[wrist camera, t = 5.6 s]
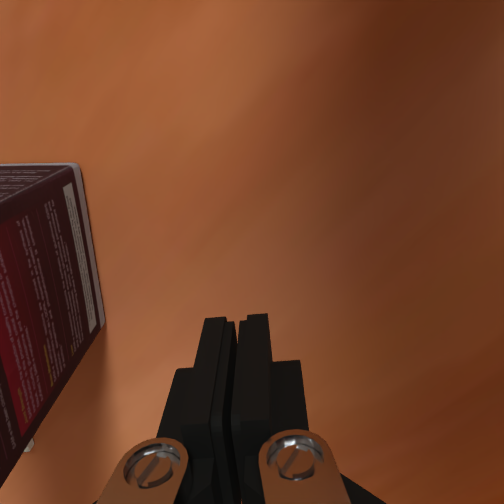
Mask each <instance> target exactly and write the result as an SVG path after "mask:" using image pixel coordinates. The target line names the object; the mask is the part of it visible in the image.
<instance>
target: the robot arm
mask: <svg viewBox="0 0 504 504" xmlns="http://www.w3.org/2000/svg"><path fill="white" fill-rule="evenodd" d="M241 498H242V504H386V503H385V502H383V501H382V500H380V499H379V498H377V497H376V496H374V495H373V494H371V493H370V492H368V491H367V490H365V489H364V488H362V487H361V486H359V485H358V484H356V483H354V482H353V481H351V480H350V479H348V478H347V477H345V476H344V475H342V474H341V473H340V472H339V470H338V467H337V464H336V462H335V459H334V457H333V454H332V451H331V449H330V447H329V446H328V444H327V442H326V441H325V440H323V439H322V438H321V437H320V436H319V435H317V434H314V433H312V432H310V431H309V427H308V419H307V411H306V403H305V395H304V387H303V379H302V371H301V363H300V360H291V361H277V362H273V361H272V351H271V341H270V331H269V321H268V314H267V313H265V314H252V315H247V320H244V321H240V323H239V334H238V344H237V337H236V330H235V323H234V321H231V322H227V319H226V317H214V318H205V321H204V325H203V329H202V333H201V338H200V342H199V346H198V350H197V354H196V359H195V363H194V367H193V368H179V369H177V370H176V372H175V375H174V378H173V382H172V385H171V389H170V392H169V395H168V399H167V402H166V406H165V409H164V412H163V416H162V419H161V423H160V426H159V430H158V433H157V436H156V438H153V439H150V440H146V441H143V442H141V443H140V444H138V445H136V446H134V447H133V448H131V449H130V450H129V451H128V452H127V453H126V454H125V455H124V456H123V457H122V459H121V460H120V461H119V463H118V465H117V467H116V468H115V470H114V472H113V474H112V476H111V478H110V479H109V481H108V483H107V485H106V487H105V489H104V490H103V492H102V494H101V496H100V498H99V499H98V500H97V501H96V502H94V503H93V504H241Z"/></svg>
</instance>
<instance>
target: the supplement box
mask: <svg viewBox="0 0 504 504" xmlns="http://www.w3.org/2000/svg"><path fill="white" fill-rule="evenodd" d="M104 323H105V317H104V310H103V304H102V299H101V293H100V287H99V281H98V275H97V269H96V262H95V256H94V250H93V244H92V238H91V232H90V226H89V220H88V213H87V207H86V201H85V195H84V189H83V183H82V178H81V172H80V167H79V165H78V164H77V163H30V164H0V488H1V487H2V485H3V483H4V482H5V480H6V479H7V477H8V476H9V474H10V472H11V471H12V469H13V468H14V466H15V465H16V463H17V461H18V460H19V458H20V456H21V455H22V453H23V452H24V450H25V449H26V447H27V445H28V444H29V442H30V441H31V439H32V437H33V436H34V434H35V433H36V431H37V429H38V428H39V426H40V424H41V423H42V421H43V419H44V418H45V416H46V415H47V413H48V412H49V410H50V409H51V407H52V405H53V404H54V402H55V401H56V399H57V398H58V396H59V394H60V393H61V391H62V390H63V388H64V386H65V385H66V383H67V382H68V380H69V378H70V377H71V375H72V374H73V372H74V371H75V369H76V367H77V366H78V364H79V363H80V361H81V359H82V358H83V356H84V355H85V353H86V351H87V350H88V348H89V347H90V345H91V344H92V342H93V341H94V339H95V337H96V336H97V334H98V332H99V331H100V330H101V328H102V326H103V325H104Z"/></svg>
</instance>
